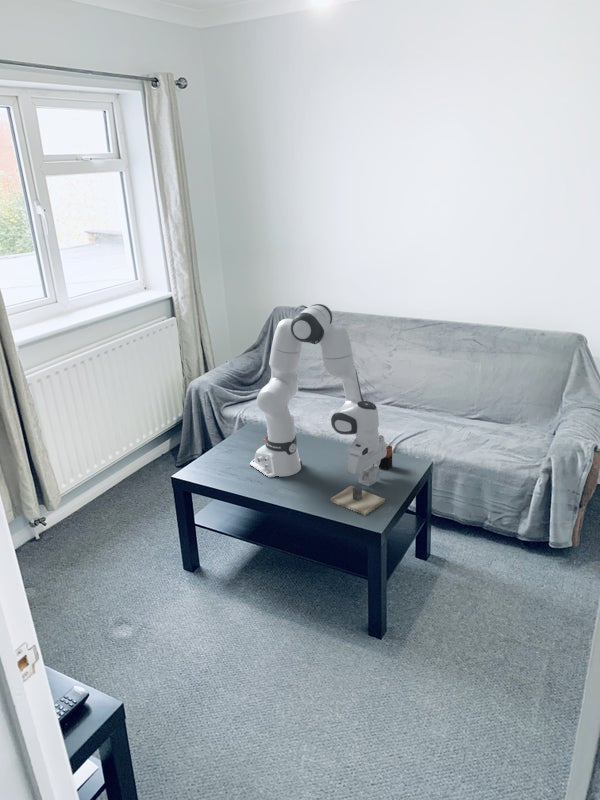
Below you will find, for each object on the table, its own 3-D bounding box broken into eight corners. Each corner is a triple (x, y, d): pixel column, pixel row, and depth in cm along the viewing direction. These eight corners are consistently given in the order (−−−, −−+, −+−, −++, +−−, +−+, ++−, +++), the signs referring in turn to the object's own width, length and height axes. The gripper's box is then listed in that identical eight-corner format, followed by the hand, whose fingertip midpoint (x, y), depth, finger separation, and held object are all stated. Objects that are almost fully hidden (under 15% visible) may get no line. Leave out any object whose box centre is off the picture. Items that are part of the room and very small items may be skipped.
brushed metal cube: (358, 482, 239) (358, 468, 237) (366, 477, 243) (366, 463, 241) (369, 486, 236) (368, 472, 234) (377, 481, 239) (377, 467, 237)
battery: (388, 470, 247) (387, 448, 244) (372, 467, 251) (372, 444, 247) (392, 466, 251) (392, 443, 247) (377, 462, 254) (377, 440, 251)
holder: (330, 501, 227) (329, 487, 225) (350, 488, 235) (350, 475, 233) (365, 515, 217) (364, 501, 215) (385, 501, 225) (385, 488, 223)
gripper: (377, 431, 242) (377, 463, 247) (344, 450, 229) (345, 483, 234) (390, 435, 238) (390, 467, 243) (357, 454, 225) (359, 487, 230)
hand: (368, 475), depth 238 cm, fingers open, 8 cm apart
